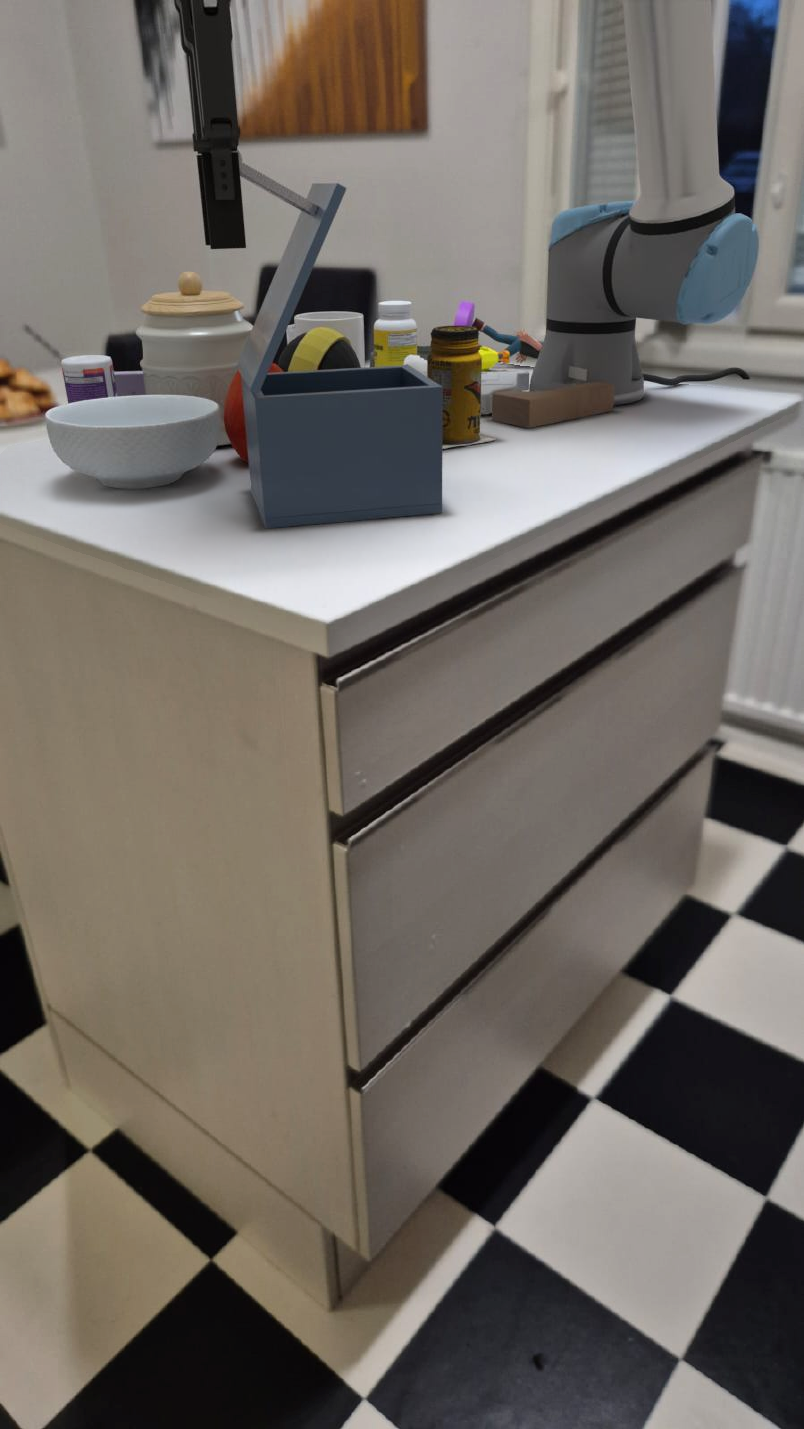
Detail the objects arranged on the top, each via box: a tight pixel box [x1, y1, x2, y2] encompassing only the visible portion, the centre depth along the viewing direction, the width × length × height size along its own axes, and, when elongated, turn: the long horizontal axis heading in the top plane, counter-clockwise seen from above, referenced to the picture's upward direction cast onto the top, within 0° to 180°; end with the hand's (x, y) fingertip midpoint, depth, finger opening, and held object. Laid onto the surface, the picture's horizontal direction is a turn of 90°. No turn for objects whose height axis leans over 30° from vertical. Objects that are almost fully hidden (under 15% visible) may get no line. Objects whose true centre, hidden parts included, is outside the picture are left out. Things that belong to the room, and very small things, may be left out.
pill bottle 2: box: [373, 300, 418, 367], centre depth 142 cm, size 6×6×11 cm
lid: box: [231, 148, 347, 394], centre depth 80 cm, size 17×12×9 cm
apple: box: [223, 362, 283, 464], centre depth 104 cm, size 8×8×11 cm
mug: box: [285, 311, 366, 368], centre depth 130 cm, size 12×9×11 cm
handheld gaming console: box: [480, 370, 530, 415], centre depth 130 cm, size 11×3×15 cm
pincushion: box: [404, 355, 427, 377], centre depth 131 cm, size 12×6×6 cm
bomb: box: [277, 327, 361, 372], centre depth 119 cm, size 11×11×15 cm
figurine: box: [453, 300, 544, 364], centre depth 155 cm, size 9×9×18 cm
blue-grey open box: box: [241, 365, 443, 530], centre depth 89 cm, size 16×12×11 cm
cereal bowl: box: [44, 395, 221, 490], centre depth 98 cm, size 17×17×7 cm
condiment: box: [427, 325, 496, 450], centre depth 110 cm, size 7×8×12 cm
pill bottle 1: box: [60, 354, 118, 404], centre depth 110 cm, size 5×5×10 cm
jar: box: [135, 271, 254, 447], centre depth 112 cm, size 13×13×18 cm
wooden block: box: [491, 382, 615, 429], centre depth 123 cm, size 7×3×15 cm
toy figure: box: [478, 346, 511, 372], centre depth 151 cm, size 7×4×12 cm
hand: (225, 245), depth 80 cm, fingers closed on lid, 5 cm apart
